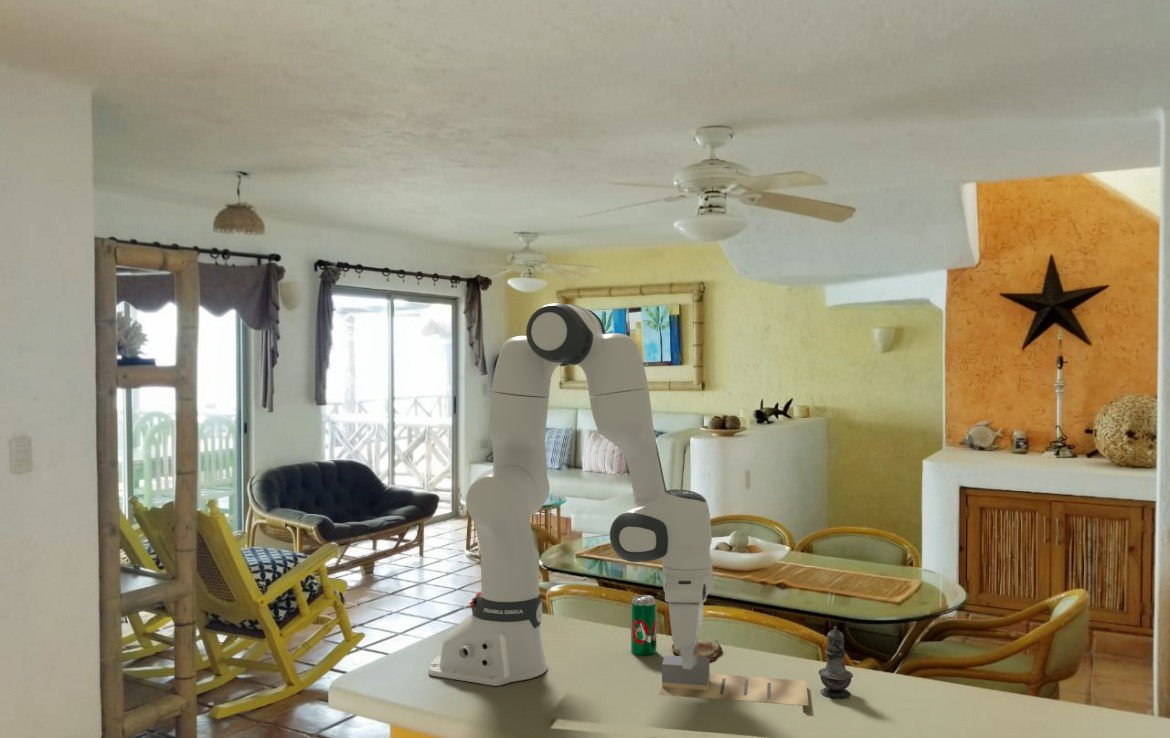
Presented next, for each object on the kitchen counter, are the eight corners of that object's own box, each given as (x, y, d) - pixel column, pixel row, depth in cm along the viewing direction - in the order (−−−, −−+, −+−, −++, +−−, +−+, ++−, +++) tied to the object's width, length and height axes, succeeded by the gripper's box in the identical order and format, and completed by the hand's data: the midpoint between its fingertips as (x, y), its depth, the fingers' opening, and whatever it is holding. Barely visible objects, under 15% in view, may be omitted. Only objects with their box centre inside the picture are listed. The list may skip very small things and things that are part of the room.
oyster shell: (669, 649, 179) (668, 634, 179) (717, 648, 178) (717, 633, 179) (675, 671, 165) (674, 654, 165) (727, 670, 165) (727, 653, 165)
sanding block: (661, 686, 152) (661, 664, 152) (665, 677, 157) (665, 655, 157) (707, 690, 151) (707, 667, 151) (709, 680, 155) (709, 658, 155)
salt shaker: (817, 697, 150) (816, 628, 150) (820, 686, 156) (819, 619, 156) (852, 701, 148) (852, 631, 148) (854, 690, 154) (853, 622, 154)
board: (659, 700, 149) (659, 693, 149) (667, 677, 161) (667, 670, 161) (808, 712, 143) (808, 705, 143) (806, 687, 155) (806, 680, 155)
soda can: (647, 652, 175) (646, 593, 175) (661, 659, 171) (661, 598, 171) (626, 656, 173) (626, 596, 173) (640, 663, 168) (640, 602, 168)
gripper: (676, 568, 165) (678, 640, 165) (663, 594, 145) (665, 677, 145) (709, 568, 163) (712, 642, 163) (701, 595, 143) (703, 679, 143)
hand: (690, 659), depth 154 cm, fingers open, 8 cm apart
